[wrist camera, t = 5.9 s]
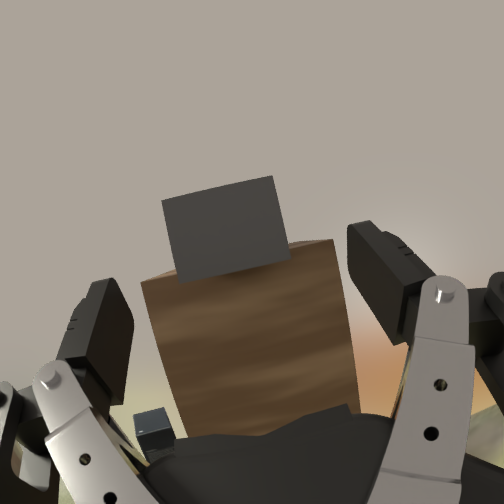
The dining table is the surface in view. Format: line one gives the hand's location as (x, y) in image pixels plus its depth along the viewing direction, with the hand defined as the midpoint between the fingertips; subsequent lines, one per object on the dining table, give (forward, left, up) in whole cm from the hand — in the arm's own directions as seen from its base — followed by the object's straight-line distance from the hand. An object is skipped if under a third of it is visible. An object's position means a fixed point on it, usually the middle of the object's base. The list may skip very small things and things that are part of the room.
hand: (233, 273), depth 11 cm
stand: (+12, +9, -32) cm, 35 cm away
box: (+15, +34, -32) cm, 49 cm away
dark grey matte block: (+8, +6, 0) cm, 10 cm away
